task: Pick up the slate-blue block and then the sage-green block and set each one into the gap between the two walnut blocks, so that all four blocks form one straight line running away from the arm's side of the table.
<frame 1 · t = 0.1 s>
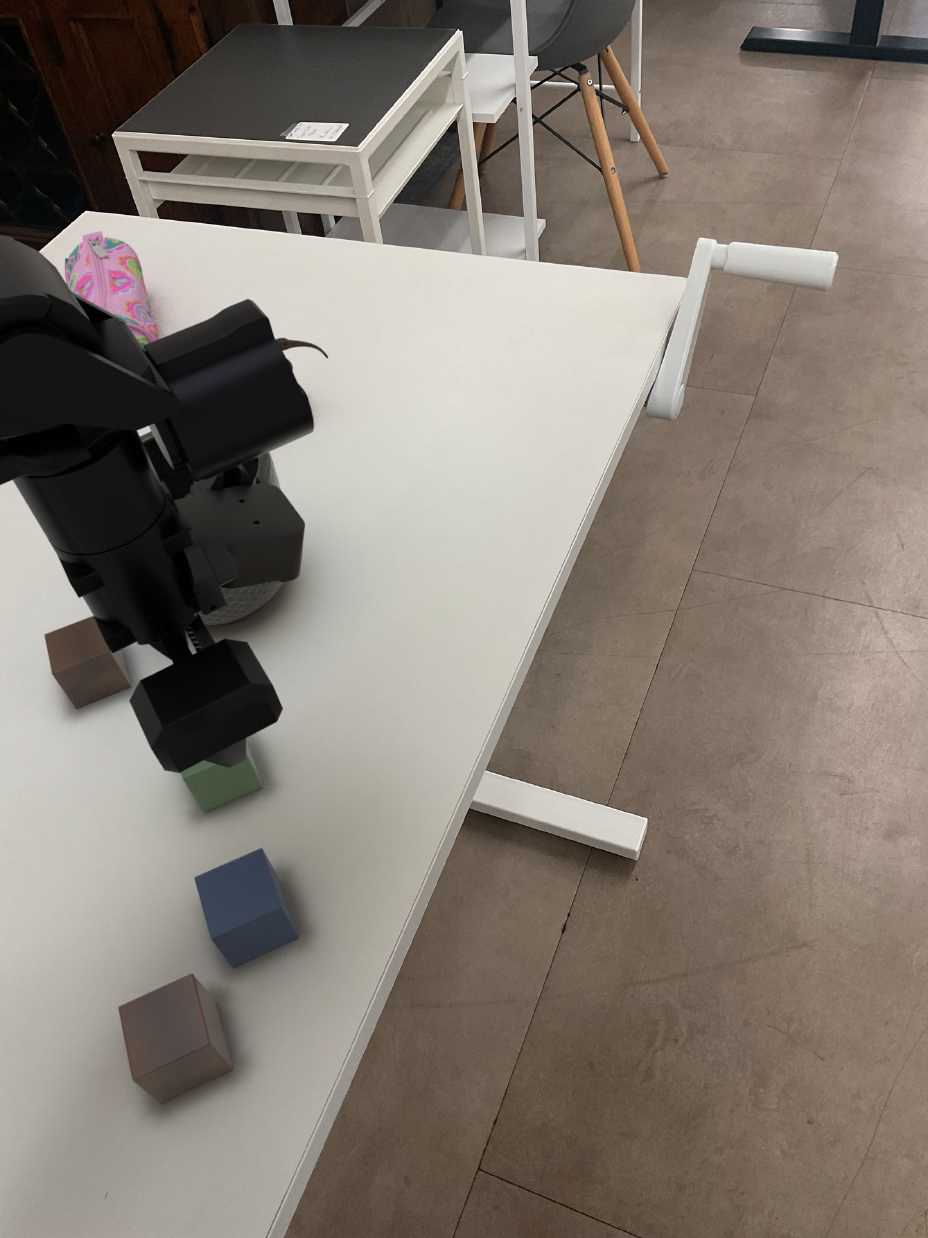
hand: (207, 707, 59), 14 cm above the table, tool pointing down, fingers open, 9 cm apart
figurine: (272, 420, 101), on the table
blue block: (256, 923, 65), on the table
planter: (230, 592, 86), on the table
green block: (225, 776, 73), on the table
pencil case: (125, 346, 113), on the table
near walnut block: (188, 1051, 60), on the table
far walnut block: (99, 678, 81), on the table
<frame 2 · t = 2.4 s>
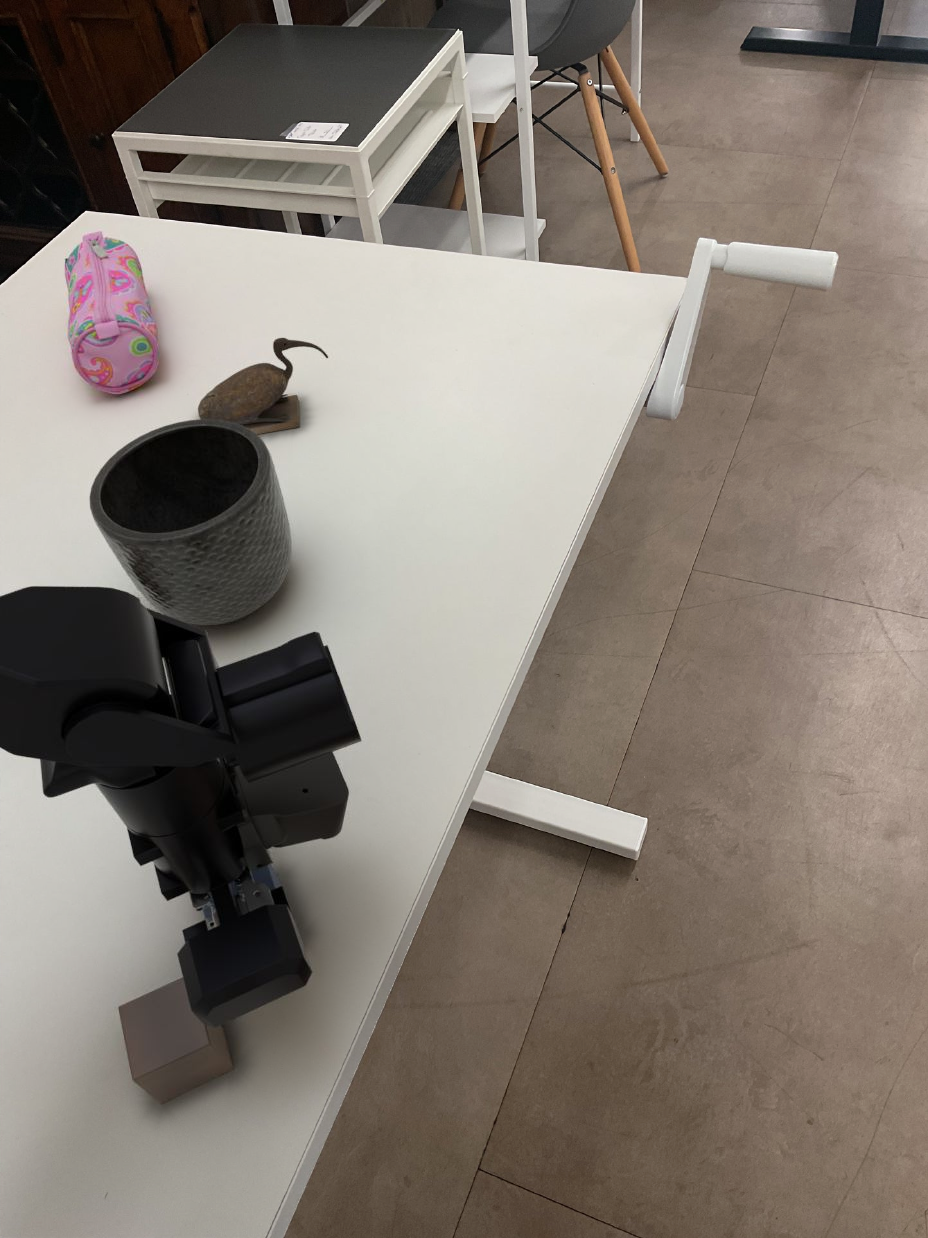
hand: (252, 916, 65), 1 cm above the table, tool pointing down, fingers closed on blue block, 4 cm apart
blue block: (256, 922, 65), on the table, touching gripper
everything else where it was.
when the fingers open (1 cm above the table, at t = 7.1 s): blue block stays where it is, on the table.
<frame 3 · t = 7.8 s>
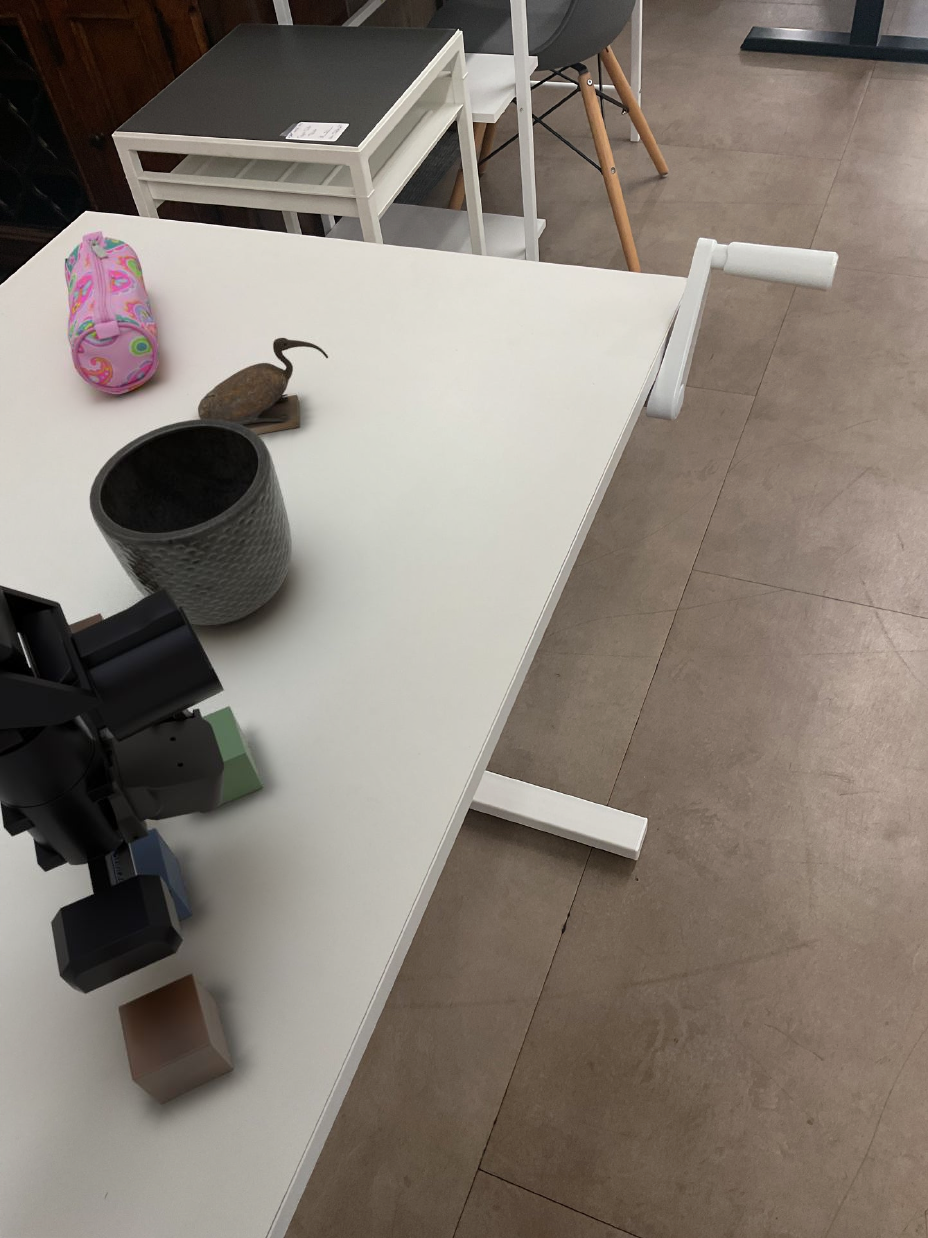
hand: (145, 891, 66), 2 cm above the table, tool pointing down, fingers open, 9 cm apart
blue block: (152, 901, 67), on the table
everything else where it was.
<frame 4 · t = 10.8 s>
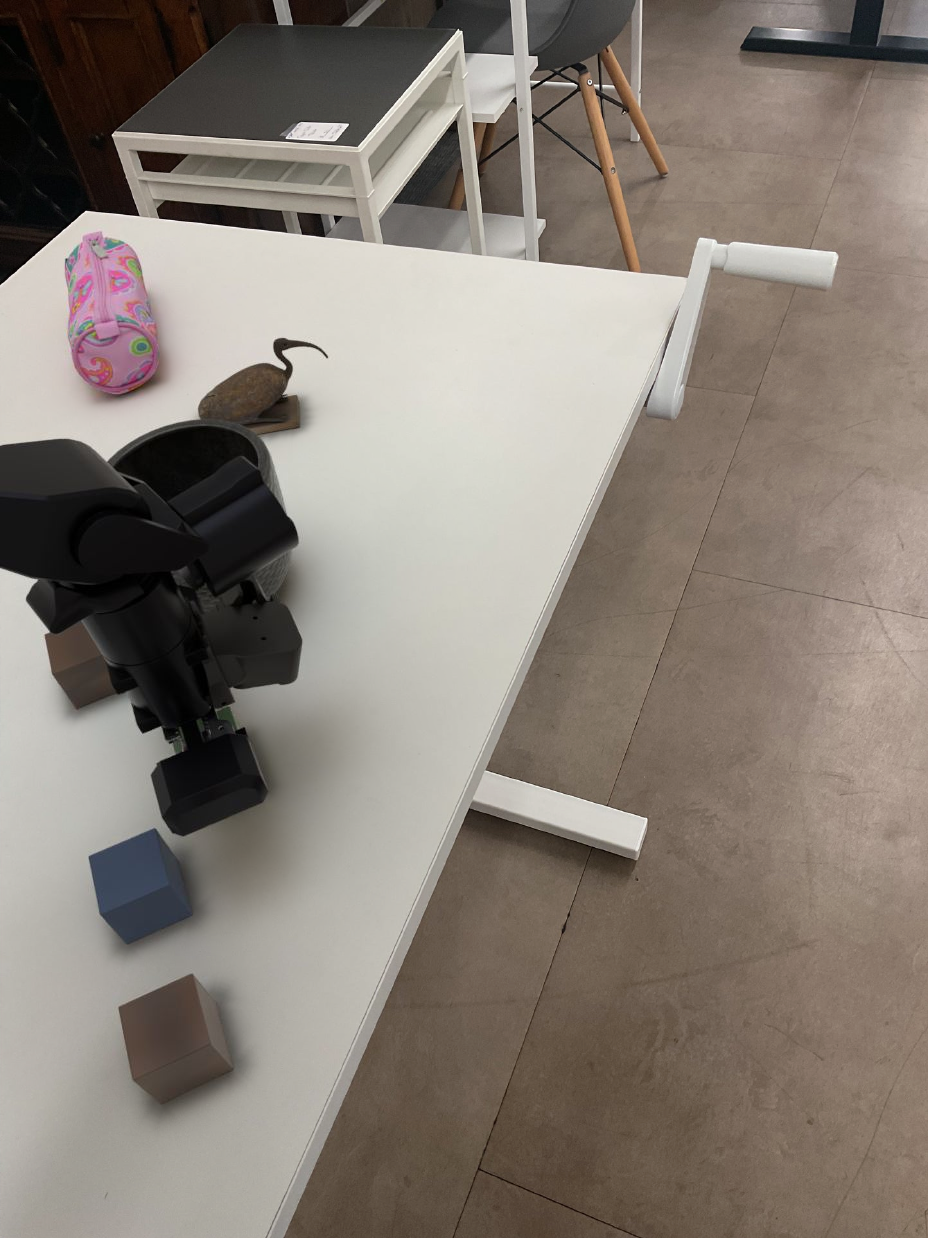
hand: (221, 768, 72), 1 cm above the table, tool pointing down, fingers closed on green block, 4 cm apart
green block: (225, 776, 73), on the table, touching gripper
everything else where it was.
when the fingers open (1 cm above the table, at t = 15.4 s): green block stays where it is, on the table.
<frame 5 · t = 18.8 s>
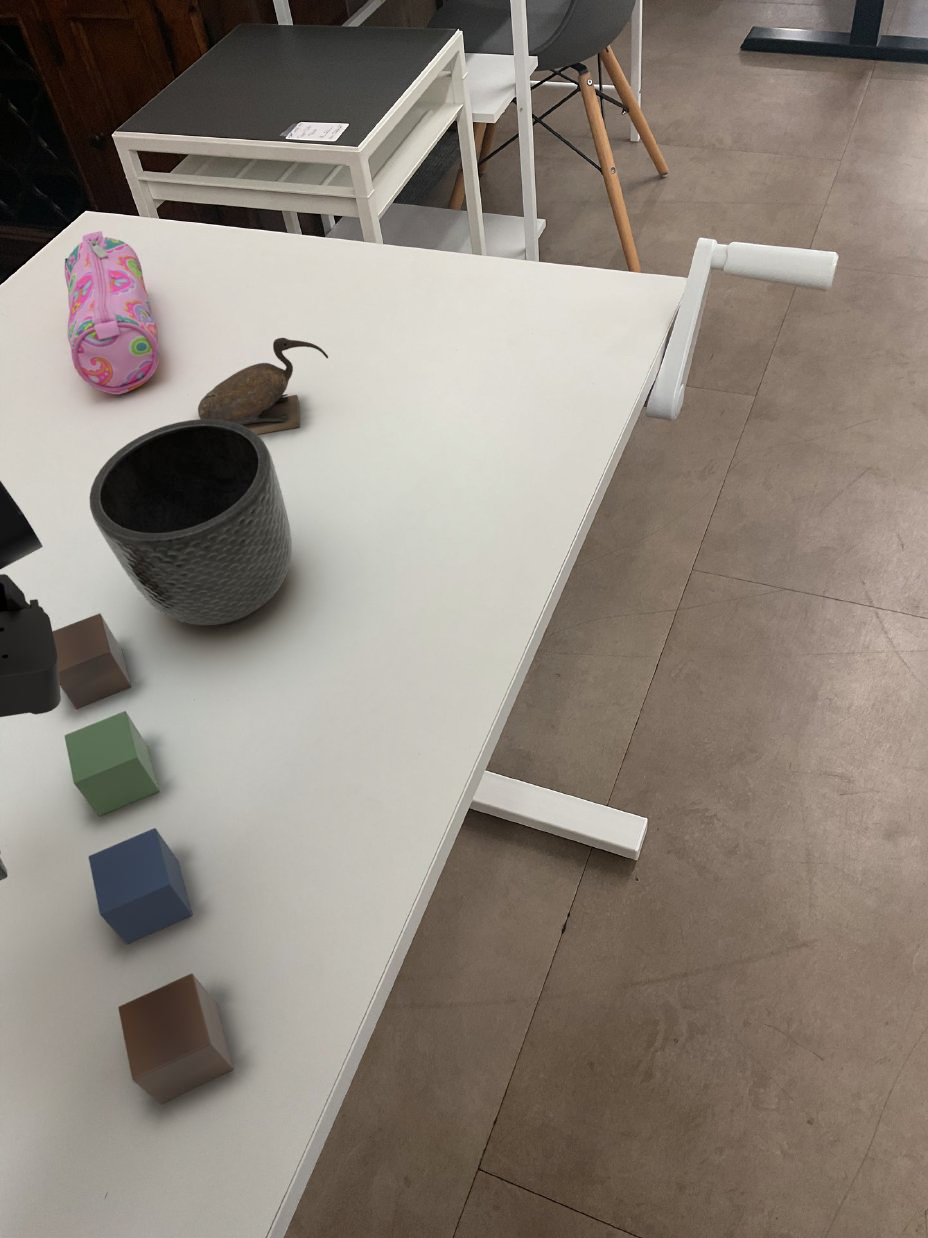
green block: (123, 780, 74), on the table
everything else where it was.
at the end: blue block 0.1 cm from the target spot on the table beside the near walnut block, on the table; green block 0.1 cm from the target spot on the table beside the far walnut block, on the table; far walnut block moved 0.0 cm from its start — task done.
